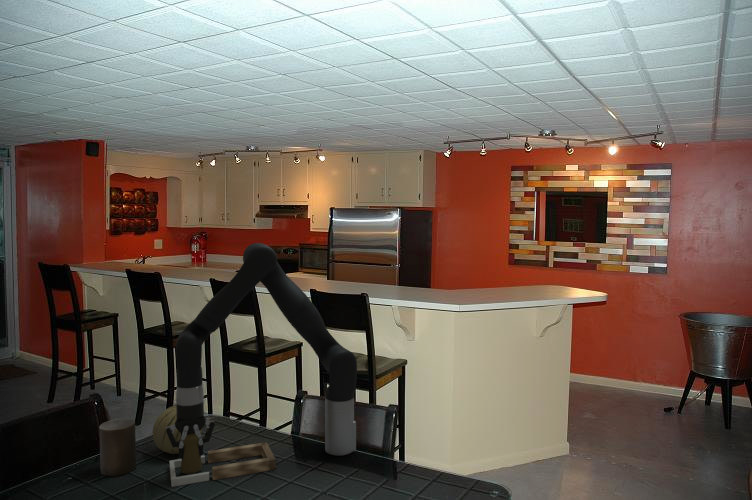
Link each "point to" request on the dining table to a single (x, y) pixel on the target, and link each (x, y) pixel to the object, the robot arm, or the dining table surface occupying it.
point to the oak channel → (241, 467)
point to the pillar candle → (117, 447)
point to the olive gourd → (191, 455)
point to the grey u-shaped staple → (188, 478)
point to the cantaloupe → (160, 431)
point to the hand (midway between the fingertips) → (190, 457)
